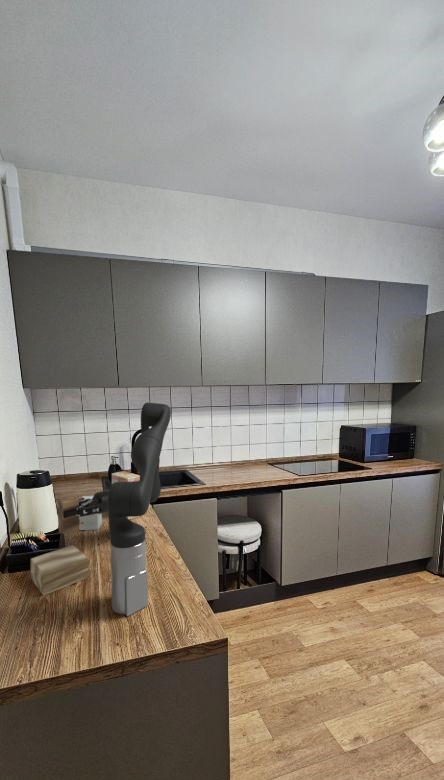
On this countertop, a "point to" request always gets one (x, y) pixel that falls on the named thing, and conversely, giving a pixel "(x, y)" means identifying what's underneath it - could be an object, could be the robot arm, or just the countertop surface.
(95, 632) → the countertop surface
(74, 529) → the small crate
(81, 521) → the small box
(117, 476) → the coffeecake box
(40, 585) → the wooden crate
